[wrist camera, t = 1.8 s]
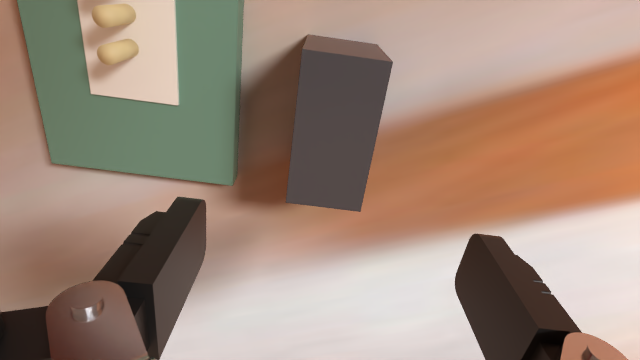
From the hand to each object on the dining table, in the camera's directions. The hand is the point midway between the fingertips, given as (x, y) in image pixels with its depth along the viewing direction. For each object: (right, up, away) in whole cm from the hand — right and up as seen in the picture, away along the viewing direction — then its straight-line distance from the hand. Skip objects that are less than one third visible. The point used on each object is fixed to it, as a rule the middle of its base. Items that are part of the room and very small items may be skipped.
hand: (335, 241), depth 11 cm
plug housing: (0, +7, +13) cm, 15 cm away
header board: (-11, +12, +11) cm, 19 cm away
